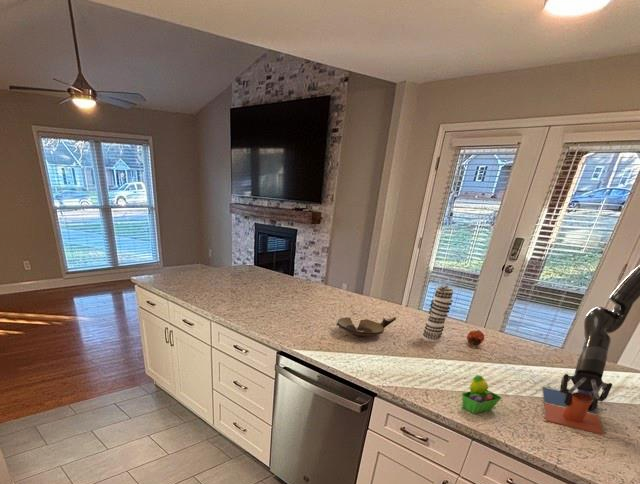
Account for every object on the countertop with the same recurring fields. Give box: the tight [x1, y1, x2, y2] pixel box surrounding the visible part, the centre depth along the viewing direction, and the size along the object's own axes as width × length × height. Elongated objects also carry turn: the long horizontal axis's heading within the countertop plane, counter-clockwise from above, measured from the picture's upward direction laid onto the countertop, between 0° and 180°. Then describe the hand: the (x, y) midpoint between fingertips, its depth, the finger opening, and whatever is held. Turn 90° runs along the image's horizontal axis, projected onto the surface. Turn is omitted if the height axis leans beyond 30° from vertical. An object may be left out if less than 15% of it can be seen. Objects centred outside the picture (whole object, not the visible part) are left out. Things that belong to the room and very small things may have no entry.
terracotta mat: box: [544, 402, 604, 436], centre depth 142 cm, size 16×14×1 cm
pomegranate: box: [466, 329, 485, 347], centre depth 197 cm, size 7×7×10 cm
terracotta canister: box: [563, 392, 594, 422], centre depth 140 cm, size 6×6×8 cm
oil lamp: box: [335, 316, 397, 337], centre depth 204 cm, size 22×30×8 cm
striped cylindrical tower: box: [422, 284, 455, 343], centre depth 197 cm, size 9×9×25 cm
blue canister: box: [575, 380, 604, 395], centre depth 151 cm, size 6×6×8 cm
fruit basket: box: [461, 374, 502, 414], centre depth 143 cm, size 11×9×11 cm
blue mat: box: [542, 386, 598, 415], centre depth 153 cm, size 16×14×1 cm
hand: (579, 407), depth 138 cm, fingers closed on terracotta canister, 6 cm apart
